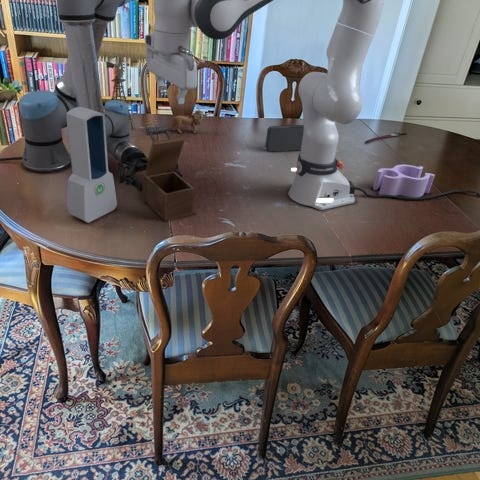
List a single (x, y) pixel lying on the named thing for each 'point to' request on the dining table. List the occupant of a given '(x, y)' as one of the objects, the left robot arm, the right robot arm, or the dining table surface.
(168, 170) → the lid
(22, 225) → the dining table surface
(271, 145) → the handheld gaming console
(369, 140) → the sword
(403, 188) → the clip
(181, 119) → the lion figurine
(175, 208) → the chest
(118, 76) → the miniature windmill
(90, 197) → the electronic device
